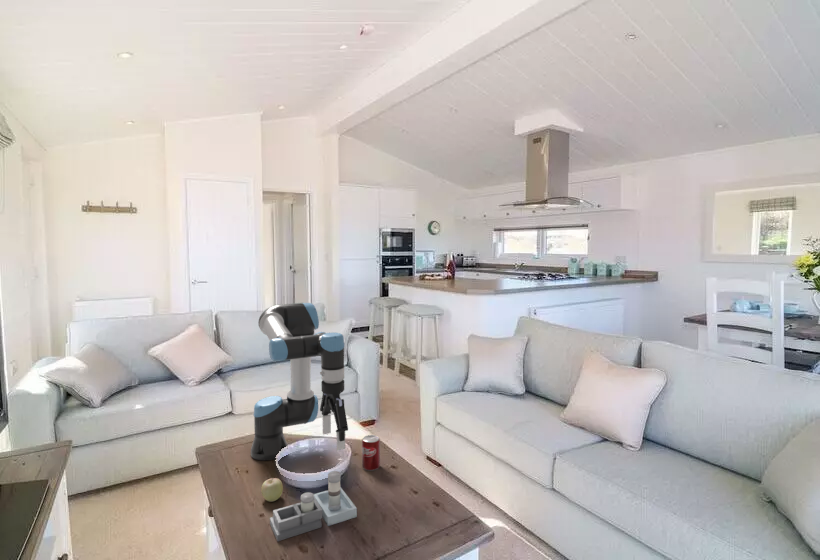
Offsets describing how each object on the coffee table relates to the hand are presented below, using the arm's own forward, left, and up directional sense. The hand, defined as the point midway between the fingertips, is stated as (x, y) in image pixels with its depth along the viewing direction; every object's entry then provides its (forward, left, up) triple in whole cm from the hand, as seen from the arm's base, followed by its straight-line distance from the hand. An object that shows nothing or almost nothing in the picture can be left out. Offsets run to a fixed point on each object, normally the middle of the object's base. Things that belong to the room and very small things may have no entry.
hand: (333, 441), depth 153 cm
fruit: (-17, -17, -24) cm, 34 cm away
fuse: (0, 0, -24) cm, 24 cm away
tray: (0, 0, -24) cm, 24 cm away
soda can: (-20, +23, -24) cm, 39 cm away
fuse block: (+2, -14, -24) cm, 28 cm away
